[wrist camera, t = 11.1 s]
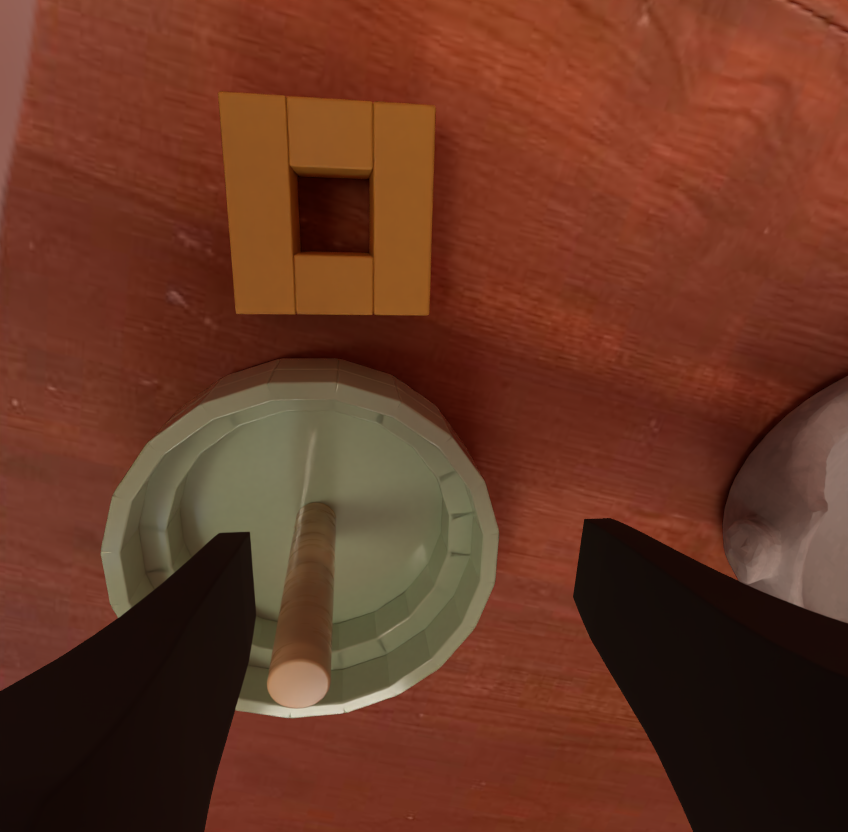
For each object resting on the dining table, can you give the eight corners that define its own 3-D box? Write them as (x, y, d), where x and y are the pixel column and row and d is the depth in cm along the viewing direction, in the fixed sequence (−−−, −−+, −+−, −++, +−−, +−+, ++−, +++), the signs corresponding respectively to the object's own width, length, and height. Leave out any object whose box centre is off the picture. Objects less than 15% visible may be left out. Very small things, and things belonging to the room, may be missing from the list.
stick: (296, 537, 22) (268, 712, 14) (294, 502, 21) (264, 662, 13) (336, 536, 22) (331, 707, 14) (335, 500, 22) (329, 657, 14)
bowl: (167, 653, 24) (133, 733, 20) (122, 354, 19) (68, 384, 16) (465, 631, 25) (485, 701, 22) (483, 354, 21) (512, 380, 17)
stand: (251, 302, 19) (235, 314, 17) (238, 113, 17) (217, 90, 15) (418, 304, 20) (429, 315, 17) (422, 124, 18) (436, 104, 15)
